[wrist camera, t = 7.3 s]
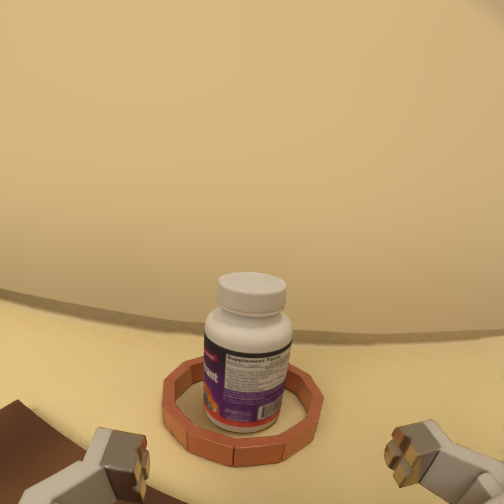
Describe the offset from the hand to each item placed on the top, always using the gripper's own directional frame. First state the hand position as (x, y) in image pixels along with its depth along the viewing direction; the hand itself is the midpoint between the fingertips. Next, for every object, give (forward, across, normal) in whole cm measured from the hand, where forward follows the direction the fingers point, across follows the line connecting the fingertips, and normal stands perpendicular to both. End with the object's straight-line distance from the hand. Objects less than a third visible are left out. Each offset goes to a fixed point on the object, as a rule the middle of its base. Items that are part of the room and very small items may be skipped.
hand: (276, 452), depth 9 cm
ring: (+11, 0, +8) cm, 13 cm away
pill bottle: (+11, 0, +8) cm, 13 cm away
